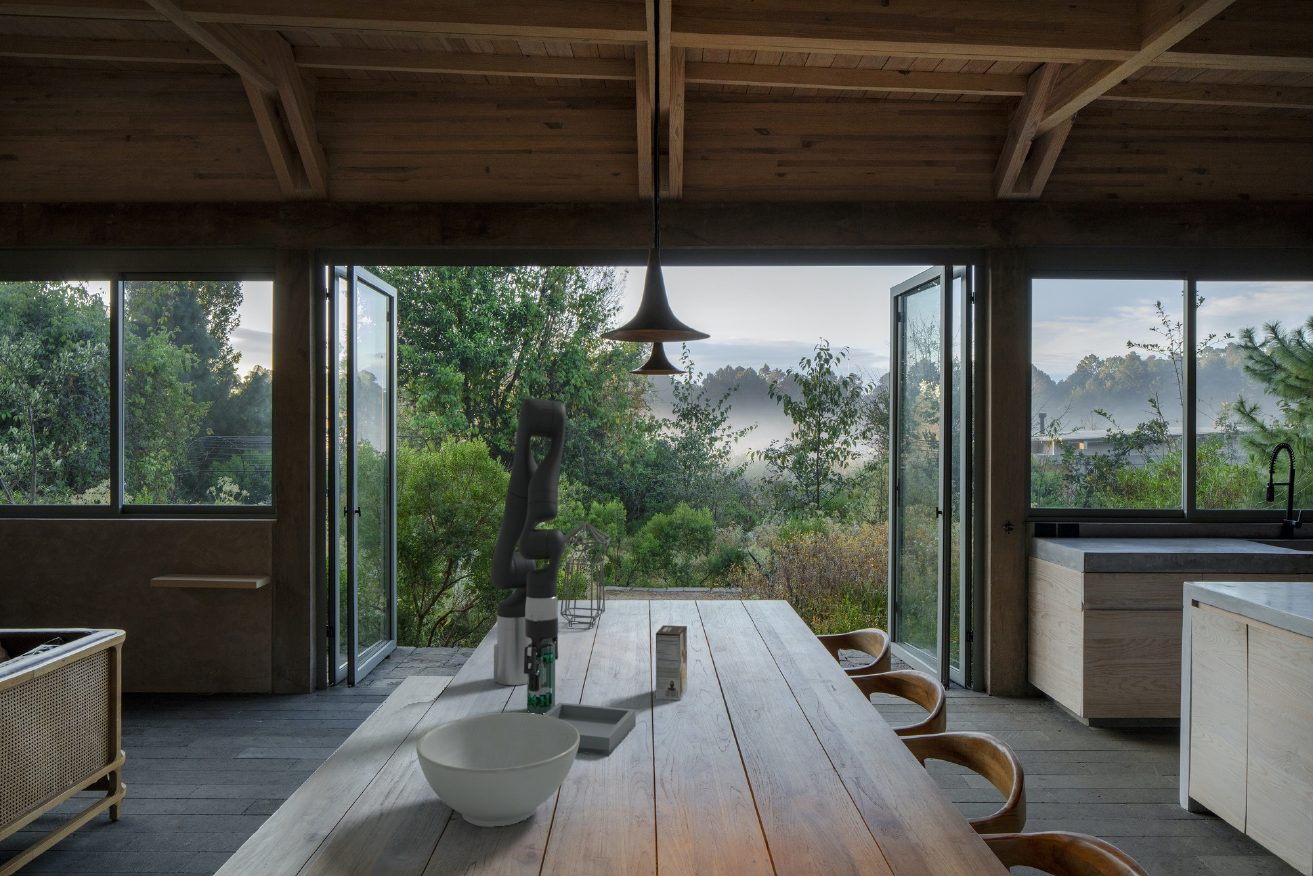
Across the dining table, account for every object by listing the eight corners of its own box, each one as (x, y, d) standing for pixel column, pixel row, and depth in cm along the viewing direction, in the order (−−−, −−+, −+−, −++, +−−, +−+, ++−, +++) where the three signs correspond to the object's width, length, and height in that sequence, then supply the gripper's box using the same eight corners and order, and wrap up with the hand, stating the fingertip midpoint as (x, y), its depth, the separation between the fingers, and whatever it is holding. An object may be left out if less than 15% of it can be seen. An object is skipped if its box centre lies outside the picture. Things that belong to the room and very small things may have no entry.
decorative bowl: (432, 780, 149) (433, 714, 150) (580, 776, 152) (580, 710, 152) (399, 853, 123) (399, 772, 123) (578, 846, 125) (579, 767, 125)
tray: (525, 746, 166) (525, 729, 166) (558, 718, 184) (558, 702, 184) (609, 755, 162) (609, 737, 162) (635, 725, 179) (635, 709, 179)
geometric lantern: (565, 620, 286) (569, 520, 287) (610, 623, 284) (613, 522, 285) (554, 629, 271) (557, 523, 271) (600, 632, 268) (604, 525, 269)
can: (523, 712, 187) (523, 647, 187) (535, 704, 193) (536, 641, 193) (546, 715, 185) (547, 649, 185) (559, 707, 191) (559, 643, 191)
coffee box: (662, 688, 207) (662, 624, 207) (687, 689, 205) (687, 625, 206) (655, 699, 198) (655, 632, 198) (681, 701, 196) (681, 633, 197)
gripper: (539, 608, 197) (538, 676, 197) (513, 620, 183) (513, 693, 183) (568, 610, 195) (567, 678, 195) (544, 622, 181) (544, 696, 181)
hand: (541, 685), depth 189 cm, fingers open, 8 cm apart
